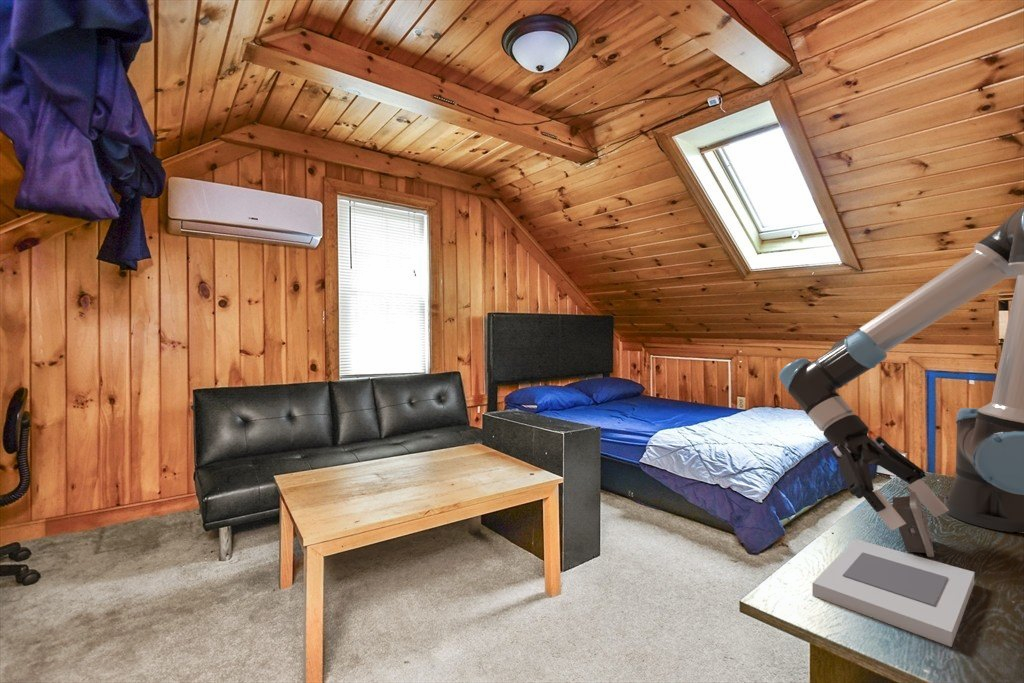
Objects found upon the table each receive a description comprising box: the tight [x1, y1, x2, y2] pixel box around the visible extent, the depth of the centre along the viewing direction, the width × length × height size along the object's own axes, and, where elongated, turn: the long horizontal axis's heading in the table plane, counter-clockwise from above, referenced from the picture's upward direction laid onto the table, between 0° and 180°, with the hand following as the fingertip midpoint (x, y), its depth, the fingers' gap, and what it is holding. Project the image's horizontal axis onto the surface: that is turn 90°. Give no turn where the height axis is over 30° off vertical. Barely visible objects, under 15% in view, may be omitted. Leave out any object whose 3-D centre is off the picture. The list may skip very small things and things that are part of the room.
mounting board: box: [811, 538, 975, 648], centre depth 76 cm, size 22×16×2 cm
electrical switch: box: [891, 491, 935, 558], centre depth 90 cm, size 9×5×9 cm, turn 141°
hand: (921, 520), depth 89 cm, fingers open, 13 cm apart
